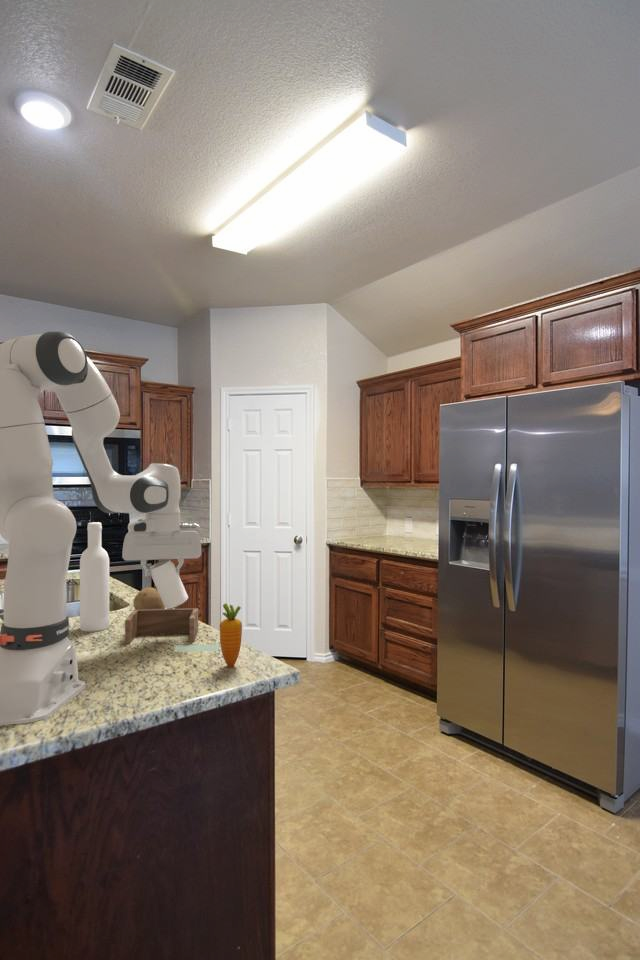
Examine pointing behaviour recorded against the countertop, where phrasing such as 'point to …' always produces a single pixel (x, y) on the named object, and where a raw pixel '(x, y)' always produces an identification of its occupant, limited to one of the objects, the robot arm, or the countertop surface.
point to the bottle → (94, 583)
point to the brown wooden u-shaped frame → (161, 622)
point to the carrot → (230, 635)
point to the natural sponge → (148, 599)
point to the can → (168, 584)
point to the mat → (196, 648)
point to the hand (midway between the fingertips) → (162, 576)
